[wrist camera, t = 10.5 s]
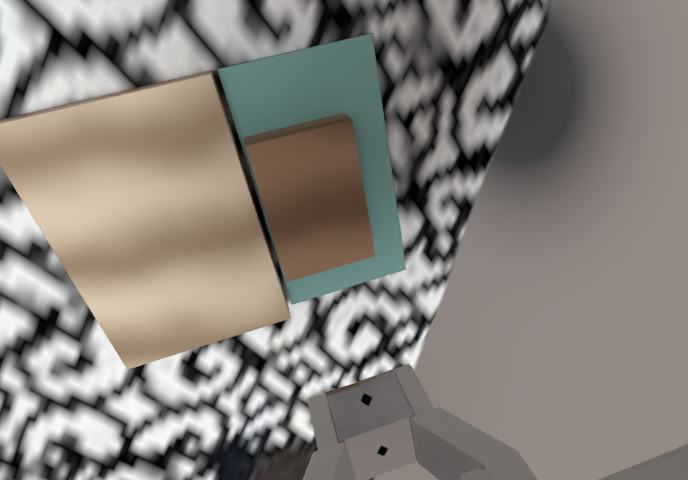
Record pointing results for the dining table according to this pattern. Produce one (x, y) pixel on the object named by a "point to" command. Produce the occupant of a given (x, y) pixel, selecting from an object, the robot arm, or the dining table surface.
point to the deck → (149, 215)
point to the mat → (315, 103)
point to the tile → (313, 194)
